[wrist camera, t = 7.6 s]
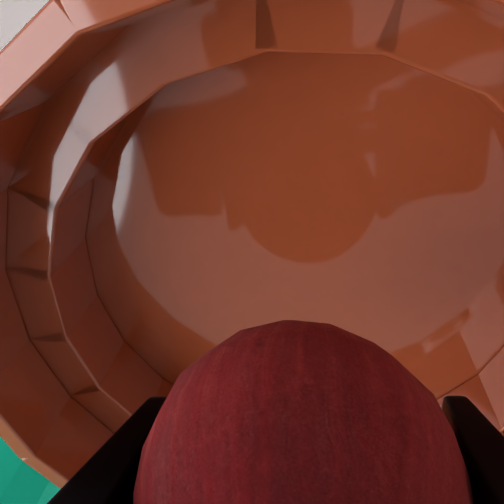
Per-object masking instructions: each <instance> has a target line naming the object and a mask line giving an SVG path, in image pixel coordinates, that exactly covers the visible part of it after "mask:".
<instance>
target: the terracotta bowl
mask: <svg viewBox="0 0 504 504" xmlns="http://www.w3.org/2000/svg"><path fill="white" fill-rule="evenodd" d="M281 320H298V321H308V322H318V323H328V324H332V325H334V326H337V327H339V328H341V329H344V330H346V331H348V332H351V333H353V334H355V335H358V336H360V337H362V338H365V339H367V340H369V341H372V342H374V343H375V344H377V345H378V346H380V347H381V348H382V349H384V350H385V351H387V352H388V353H390V354H391V355H392V356H393V357H394V358H396V359H397V360H398V361H399V362H400V363H401V364H402V365H403V366H404V367H405V368H406V369H407V370H408V371H409V372H410V373H411V374H413V375H414V376H415V377H416V378H417V379H418V380H419V381H420V382H421V383H422V384H423V385H424V386H425V387H426V388H427V389H429V390H430V391H431V392H432V393H433V394H434V396H435V398H436V400H437V401H438V403H439V405H440V407H441V409H442V403H443V398H444V397H445V396H465V397H467V398H468V399H469V400H470V401H471V402H472V403H473V404H474V405H475V406H476V407H477V408H478V409H479V411H480V412H481V413H482V414H483V415H484V416H485V417H486V418H487V419H488V420H489V421H490V422H491V423H492V424H493V425H494V426H495V428H496V429H497V430H498V431H499V432H500V433H501V434H502V435H503V436H504V0H49V1H48V2H47V3H46V4H45V5H44V6H43V7H42V8H41V9H40V10H39V11H38V13H37V14H36V15H35V16H34V17H33V18H32V19H31V20H30V21H29V22H28V23H27V24H26V25H25V26H24V27H23V28H22V29H21V30H20V31H19V32H18V33H17V35H16V36H15V37H14V38H13V39H12V40H11V41H10V42H9V43H8V44H7V45H6V46H5V47H4V48H3V49H2V50H1V51H0V437H1V438H2V439H3V440H4V442H5V443H6V444H7V445H8V446H9V447H10V448H11V449H12V451H13V452H14V453H15V454H16V455H17V456H18V457H19V458H20V459H21V460H22V461H23V462H24V463H26V464H27V465H29V466H30V467H31V468H33V469H34V470H35V471H37V472H38V473H40V474H41V475H42V476H44V477H45V478H46V479H48V480H49V481H50V482H52V483H53V484H55V485H56V486H57V487H59V488H60V489H61V488H62V487H63V486H64V485H65V484H66V483H67V482H68V481H69V480H70V479H71V478H72V477H73V476H74V475H75V474H76V473H77V472H78V471H79V469H80V468H81V467H82V466H83V465H84V464H85V463H86V462H87V461H88V460H89V459H90V458H91V457H92V456H93V455H94V454H95V453H96V452H97V451H98V450H99V449H100V448H101V447H102V446H103V445H104V444H105V443H106V442H107V441H108V439H109V438H110V437H111V436H112V435H113V434H114V433H115V432H116V431H117V430H118V429H119V428H120V427H121V426H122V425H123V424H124V423H125V422H126V421H127V420H128V419H129V418H130V417H131V416H132V415H133V414H134V413H135V412H136V410H137V409H138V408H139V407H140V406H141V405H142V404H143V403H144V402H145V401H146V400H147V399H148V398H150V397H152V396H168V394H169V393H170V391H171V389H172V387H173V385H174V384H175V382H176V380H177V378H178V376H179V375H180V373H181V372H183V371H184V370H185V369H186V368H188V367H189V366H190V365H191V364H193V363H194V362H195V361H196V360H198V359H199V358H200V357H202V356H203V355H204V354H205V353H207V352H208V351H209V350H211V349H212V348H214V347H216V346H217V345H219V344H220V343H222V342H223V341H225V340H226V339H228V338H229V337H231V336H232V335H234V334H235V333H237V332H238V331H240V330H243V329H247V328H252V327H256V326H260V325H264V324H269V323H273V322H277V321H281Z"/></svg>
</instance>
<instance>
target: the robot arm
mask: <svg viewBox="0 0 504 504" xmlns="http://www.w3.org/2000/svg"><path fill="white" fill-rule="evenodd" d="M166 398H167V396H152V397H150V398H148V399H147V400H146V401H145V402H144V403H143V404H142V405H141V406H140V407H139V408H138V409H137V410H136V412H135V413H134V414H133V415H132V416H131V417H130V418H129V419H128V420H127V421H126V422H125V423H124V424H123V425H122V426H121V427H120V428H119V429H118V430H117V431H116V432H115V433H114V434H113V435H112V436H111V437H110V438H109V439H108V441H107V442H106V443H105V444H104V445H103V446H102V447H101V448H100V449H99V450H98V451H97V452H96V453H95V454H94V455H93V456H92V457H91V458H90V459H89V460H88V461H87V462H86V463H85V464H84V465H83V466H82V467H81V468H80V469H79V471H78V472H77V473H76V474H75V475H74V476H73V477H72V478H71V479H70V480H69V481H68V482H67V483H66V484H65V485H64V486H63V487H62V488H61V489H60V490H59V491H58V492H57V493H56V494H55V495H54V496H53V497H52V498H51V500H50V501H49V502H48V503H47V504H133V492H134V487H135V482H136V477H137V472H138V467H139V462H140V457H141V452H142V447H143V445H144V443H145V441H146V439H147V436H148V434H149V432H150V430H151V428H152V426H153V424H154V422H155V419H156V417H157V415H158V413H159V411H160V409H161V407H162V405H163V404H164V402H165V400H166ZM442 411H443V412H444V414H445V416H446V418H447V420H448V422H449V423H450V425H451V427H452V429H453V431H454V434H455V437H456V440H457V442H458V445H459V448H460V451H461V454H462V457H463V459H464V462H465V465H466V468H467V471H468V474H469V478H470V482H471V486H472V494H473V502H474V504H504V436H503V435H502V434H501V433H500V432H499V431H498V430H497V429H496V428H495V426H494V425H493V424H492V423H491V422H490V421H489V420H488V419H487V418H486V417H485V416H484V415H483V414H482V413H481V412H480V411H479V409H478V408H477V407H476V406H475V405H474V404H473V403H472V402H471V401H470V400H469V399H468V398H467V397H465V396H445V397H444V398H443V403H442Z"/></svg>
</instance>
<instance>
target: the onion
mask: <svg viewBox="0 0 504 504" xmlns="http://www.w3.org/2000/svg"><path fill="white" fill-rule="evenodd" d="M133 504H474V502H473V494H472V486H471V482H470V478H469V474H468V471H467V468H466V465H465V462H464V459H463V457H462V454H461V451H460V448H459V445H458V442H457V440H456V437H455V434H454V431H453V429H452V427H451V425H450V423H449V422H448V420H447V418H446V416H445V414H444V412H443V411H442V409H441V407H440V405H439V403H438V401H437V400H436V398H435V396H434V394H433V393H432V392H431V391H430V390H429V389H427V388H426V387H425V386H424V385H423V384H422V383H421V382H420V381H419V380H418V379H417V378H416V377H415V376H414V375H413V374H411V373H410V372H409V371H408V370H407V369H406V368H405V367H404V366H403V365H402V364H401V363H400V362H399V361H398V360H397V359H396V358H394V357H393V356H392V355H391V354H390V353H388V352H387V351H385V350H384V349H382V348H381V347H380V346H378V345H377V344H375V343H374V342H372V341H369V340H367V339H365V338H362V337H360V336H358V335H355V334H353V333H351V332H348V331H346V330H344V329H341V328H339V327H337V326H334V325H332V324H328V323H318V322H308V321H298V320H281V321H277V322H273V323H269V324H264V325H260V326H256V327H252V328H247V329H243V330H240V331H238V332H237V333H235V334H234V335H232V336H231V337H229V338H228V339H226V340H225V341H223V342H222V343H220V344H219V345H217V346H216V347H214V348H212V349H211V350H209V351H208V352H207V353H205V354H204V355H203V356H202V357H200V358H199V359H198V360H196V361H195V362H194V363H193V364H191V365H190V366H189V367H188V368H186V369H185V370H184V371H183V372H181V373H180V375H179V376H178V378H177V380H176V382H175V384H174V385H173V387H172V389H171V391H170V393H169V394H168V396H167V398H166V400H165V402H164V404H163V405H162V407H161V409H160V411H159V413H158V415H157V417H156V419H155V422H154V424H153V426H152V428H151V430H150V432H149V434H148V436H147V439H146V441H145V443H144V445H143V447H142V452H141V457H140V462H139V467H138V472H137V477H136V482H135V487H134V492H133Z"/></svg>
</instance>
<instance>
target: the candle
mask: <svg viewBox="0 0 504 504" xmlns="http://www.w3.org/2000/svg"><path fill="white" fill-rule="evenodd" d="M59 490H60V488H59V487H57V486H56V485H55V484H53V483H52V482H50V481H49V480H48V479H46V478H45V477H44V476H42V475H41V474H40V473H38V472H37V471H35V470H34V469H33V468H31V467H30V466H29V465H27V464H26V463H24V462H23V461H22V460H21V459H20V458H19V457H18V456H17V455H16V454H15V453H14V452H13V451H12V449H11V448H10V447H9V446H8V445H7V444H6V443H5V442H4V440H3V439H2V438H1V437H0V504H47V503H48V502H49V501H50V500H51V498H52V497H53V496H54V495H55V494H56V493H57V492H58V491H59Z"/></svg>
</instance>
